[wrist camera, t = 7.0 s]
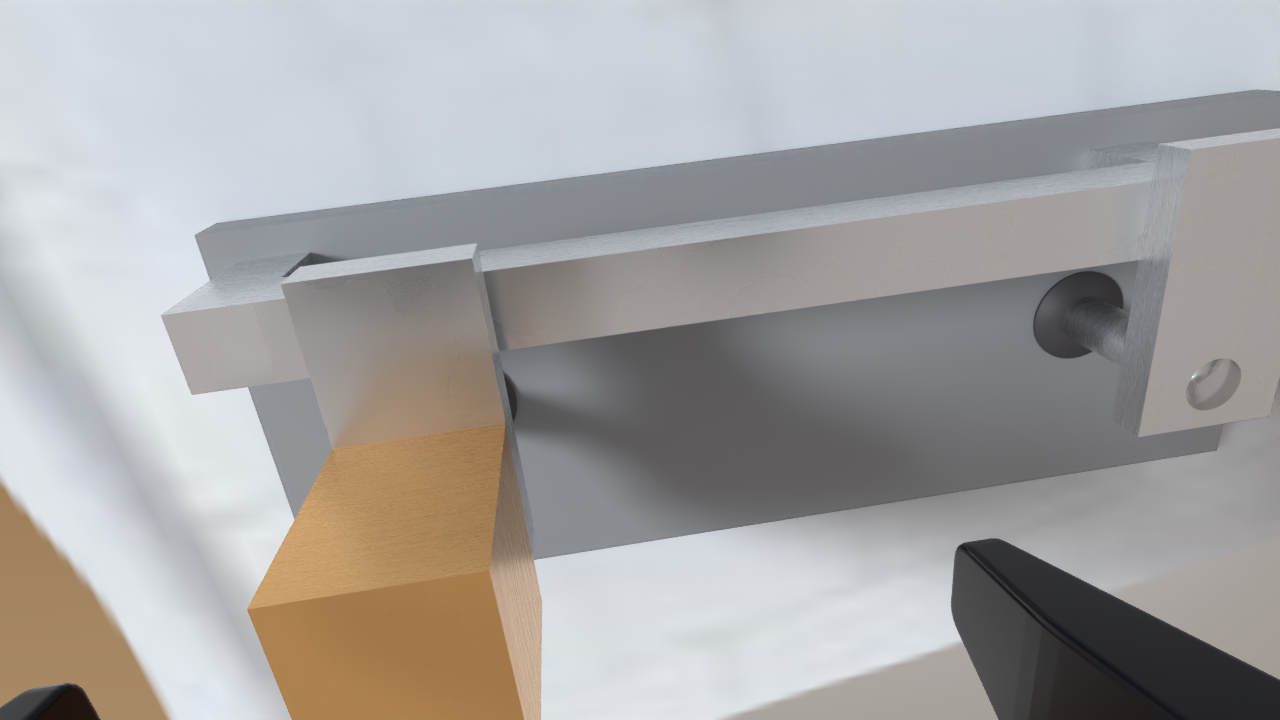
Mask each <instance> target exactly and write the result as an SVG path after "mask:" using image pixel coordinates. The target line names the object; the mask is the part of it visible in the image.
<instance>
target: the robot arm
mask: <svg viewBox="0 0 1280 720" xmlns="http://www.w3.org/2000/svg"><path fill="white" fill-rule="evenodd" d="M951 609H952V615H953V619H954V623H955V626H956V628H957V630H958V633H959V635H960V637H961V639H962V641H963V643H964V646H965V648H966V650H967V652H968V654H969V656H970V659H971V661H972V663H973V665H974V667H975V669H976V671H977V674H978V676H979V678H980V680H981V682H982V685H983V687H984V689H985V691H986V693H987V695H988V697H989V700H990V702H991V704H992V706H993V708H994V711H995V712H996V715H997V717H998V719H999V720H1280V680H1279V679H1277V678H1275V677H1273V676H1271V675H1269V674H1267V673H1265V672H1263V671H1261V670H1259V669H1257V668H1255V667H1253V666H1251V665H1249V664H1247V663H1245V662H1243V661H1241V660H1239V659H1237V658H1235V657H1234V656H1232V655H1230V654H1228V653H1226V652H1224V651H1221V650H1220V649H1217V648H1216V647H1214V646H1212V645H1210V644H1208V643H1206V642H1204V641H1202V640H1200V639H1198V638H1196V637H1194V636H1192V635H1190V634H1188V633H1186V632H1184V631H1182V630H1180V629H1178V628H1176V627H1174V626H1172V625H1170V624H1168V623H1166V622H1164V621H1162V620H1160V619H1158V618H1156V617H1154V616H1152V615H1150V614H1148V613H1146V612H1144V611H1142V610H1140V609H1138V608H1136V607H1134V606H1132V605H1130V604H1128V603H1126V602H1124V601H1122V600H1120V599H1118V598H1116V597H1114V596H1112V595H1110V594H1108V593H1106V592H1105V591H1103V590H1101V589H1099V588H1097V587H1095V586H1093V585H1091V584H1089V583H1087V582H1085V581H1083V580H1081V579H1079V578H1077V577H1075V576H1073V575H1071V574H1069V573H1067V572H1065V571H1063V570H1061V569H1059V568H1057V567H1055V566H1053V565H1051V564H1049V563H1047V562H1045V561H1043V560H1041V559H1039V558H1037V557H1035V556H1033V555H1031V554H1029V553H1027V552H1025V551H1023V550H1021V549H1019V548H1017V547H1015V546H1013V545H1011V544H1009V543H1007V542H1005V541H1003V540H1000V539H985V540H978V541H972V542H966V543H963V544H961V545H960V546H959V547H958V548H957V550H956V553H955V559H954V571H953V584H952V597H951ZM0 720H101V719H100V717H99V715H98V714H97V712H96V710H95V708H94V707H93V705H92V703H91V702H90V700H89V698H88V696H87V695H86V693H85V691H84V690H83V689H82V688H81V687H79V686H78V685H76V684H72V683H63V684H57V685H50V686H44V687H38V688H33V689H30V690H27V691H25V692H23V693H21V694H20V695H18V696H17V697H15V698H14V699H12V700H11V701H9V702H8V703H6V704H5V705H4V706H2V707H1V708H0Z"/></svg>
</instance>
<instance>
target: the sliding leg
mask: <svg viewBox="0 0 1280 720" xmlns="http://www.w3.org/2000/svg"><path fill="white" fill-rule="evenodd" d="M281 287H282V290H283V293H284V297H285V300H286V303H287V306H288V309H289V313H290V316H291V319H292V322H293V325H294V329H295V332H296V335H297V338H298V341H299V344H300V348H301V351H302V354H303V357H304V360H305V364H306V367H307V370H308V373H309V376H310V379H311V383H312V386H313V389H314V392H315V395H316V399H317V402H318V405H319V408H320V411H321V414H322V418H323V421H324V424H325V427H326V430H327V434H328V437H329V440H330V443H331V446H332V451H331V453H330V454H329V456H328V458H327V460H326V462H325V464H324V466H323V468H322V470H321V471H320V473H319V475H318V477H317V479H316V481H315V483H314V485H313V486H312V488H311V490H310V492H309V494H308V496H307V498H306V500H305V501H304V503H303V505H302V507H301V509H300V511H299V513H298V515H297V516H296V518H295V520H294V522H293V524H292V526H291V528H290V530H289V532H288V533H287V535H286V537H285V539H284V541H283V543H282V545H281V547H280V548H279V550H278V552H277V554H276V556H275V558H274V560H273V562H272V563H271V565H270V567H269V569H268V571H267V573H266V575H265V577H264V579H263V580H262V582H261V584H260V586H259V588H258V590H257V592H256V594H255V595H254V597H253V599H252V601H251V603H250V605H249V607H248V609H247V610H248V613H249V615H250V618H251V620H252V623H253V625H254V628H255V630H256V633H257V635H258V637H259V640H260V642H261V645H262V647H263V650H264V652H265V655H266V657H267V660H268V662H269V664H270V667H271V669H272V672H273V674H274V677H275V679H276V682H277V684H278V687H279V689H280V691H281V694H282V696H283V699H284V701H285V704H286V706H287V709H288V711H289V714H290V716H291V718H292V720H541V640H542V600H541V595H540V590H539V585H538V580H537V575H536V570H535V565H534V525H533V520H532V515H531V510H530V505H529V500H528V495H527V490H526V485H525V480H524V475H523V470H522V465H521V460H520V455H519V450H518V445H517V440H516V435H515V430H514V425H513V420H512V415H511V410H510V404H509V399H508V394H507V389H506V384H505V379H504V374H503V369H502V364H501V359H500V354H499V349H498V344H497V339H496V334H495V329H494V324H493V319H492V314H491V309H490V304H489V299H488V294H487V289H486V284H485V279H484V274H483V269H482V264H481V259H480V254H479V249H478V244H477V243H475V244H467V245H460V246H452V247H444V248H437V249H429V250H422V251H414V252H407V253H399V254H392V255H384V256H377V257H369V258H362V259H354V260H347V261H339V262H332V263H324V264H317V265H309V266H302V267H299V268H298V269H297V270H296V271H295V272H293V273H292V274H291V275H290V276H289V277H288V278H287V279H286V280H285V281H283V282H282V283H281Z"/></svg>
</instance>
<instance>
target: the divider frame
mask: <svg viewBox="0 0 1280 720" xmlns="http://www.w3.org/2000/svg"><path fill="white" fill-rule="evenodd" d="M479 254H480V259H481V264H482V269H483V274H484V279H485V284H486V289H487V294H488V299H489V304H490V309H491V314H492V319H493V324H494V329H495V334H496V339H497V344H498V349H499V351H504V350H511V349H518V348H525V347H532V346H539V345H546V344H553V343H560V342H567V341H574V340H581V339H588V338H595V337H602V336H609V335H616V334H623V333H630V332H637V331H644V330H651V329H658V328H665V327H672V326H679V325H686V324H693V323H701V322H708V321H715V320H722V319H729V318H736V317H743V316H750V315H757V314H764V313H771V312H778V311H785V310H792V309H799V308H806V307H813V306H820V305H827V304H834V303H841V302H848V301H855V300H862V299H869V298H876V297H883V296H890V295H897V294H904V293H911V292H918V291H925V290H932V289H939V288H947V287H954V286H961V285H968V284H975V283H982V282H989V281H996V280H1003V279H1010V278H1017V277H1024V276H1031V275H1038V274H1045V273H1052V272H1059V271H1066V270H1073V269H1080V268H1087V267H1094V266H1101V265H1108V264H1115V263H1122V262H1129V261H1136V260H1139V262H1138V268H1137V274H1136V280H1135V286H1134V292H1133V298H1132V304H1131V310H1130V313H1128V312H1126V311H1124V310H1122V309H1120V308H1117V307H1115V306H1113V305H1111V304H1109V303H1107V302H1104V301H1102V300H1100V299H1098V298H1095V297H1086V298H1083V299H1080V300H1078V301H1076V302H1075V303H1074V304H1072V305H1071V306H1070V307H1069V309H1068V310H1067V311H1066V313H1065V315H1064V318H1063V321H1062V328H1063V332H1064V334H1065V335H1066V336H1067V337H1068V338H1070V339H1071V340H1073V341H1075V342H1077V343H1079V344H1080V345H1082V346H1084V347H1086V348H1088V349H1089V350H1091V351H1093V352H1095V353H1096V354H1098V355H1100V356H1102V357H1104V358H1105V359H1107V360H1109V361H1111V362H1112V363H1114V364H1116V365H1118V366H1120V367H1121V370H1120V376H1119V382H1118V388H1117V394H1116V400H1115V406H1114V412H1113V418H1112V420H1113V421H1115V422H1116V423H1118V424H1119V425H1121V426H1122V427H1124V428H1125V429H1127V430H1128V431H1130V432H1131V433H1133V434H1134V435H1136V436H1137V437H1142V436H1149V435H1155V434H1161V433H1167V432H1174V431H1180V430H1186V429H1193V428H1199V427H1205V426H1212V425H1218V424H1224V423H1231V422H1237V421H1243V420H1250V419H1256V418H1262V417H1269V416H1270V413H1271V409H1272V405H1273V401H1274V397H1275V393H1276V390H1277V386H1278V382H1279V378H1280V128H1277V129H1269V130H1262V131H1254V132H1247V133H1239V134H1231V135H1224V136H1216V137H1209V138H1201V139H1194V140H1186V141H1178V142H1171V143H1158V142H1151V141H1150V142H1142V143H1135V144H1127V145H1119V146H1112V147H1104V148H1097V149H1089V150H1088V151H1087V159H1086V167H1085V170H1082V171H1075V172H1067V173H1060V174H1052V175H1045V176H1037V177H1030V178H1022V179H1015V180H1008V181H1000V182H993V183H985V184H978V185H970V186H963V187H955V188H948V189H940V190H933V191H925V192H918V193H910V194H903V195H895V196H888V197H880V198H873V199H865V200H858V201H850V202H843V203H835V204H828V205H820V206H813V207H805V208H798V209H790V210H783V211H775V212H768V213H760V214H753V215H746V216H738V217H731V218H723V219H716V220H708V221H701V222H693V223H686V224H678V225H671V226H663V227H656V228H648V229H641V230H633V231H626V232H618V233H611V234H603V235H596V236H588V237H581V238H573V239H566V240H558V241H551V242H543V243H536V244H528V245H521V246H513V247H506V248H499V249H491V250H484V251H479ZM309 265H314V264H313V260H312V257H311V253H310V252H308V253H300V254H292V255H285V256H277V257H270V258H262V259H254V260H247V261H239V262H236V263H235V264H233V265H232V266H231V267H229V268H228V269H226V270H225V271H223V272H222V273H221V274H219V275H218V276H216V277H215V278H213V279H212V280H211V281H209V282H208V283H206V284H205V285H203V286H202V287H201V288H199V289H198V290H196V291H195V292H193V293H192V294H191V295H189V296H188V297H186V298H185V299H183V300H182V301H180V302H179V303H178V304H176V305H175V306H173V307H172V308H170V309H169V310H168V311H166V312H165V313H163V314H162V315H161V317H162V319H163V322H164V324H165V327H166V330H167V332H168V335H169V337H170V340H171V343H172V345H173V348H174V350H175V353H176V355H177V358H178V361H179V363H180V366H181V368H182V371H183V373H184V376H185V379H186V381H187V384H188V386H189V389H190V391H191V394H192V395H194V394H201V393H208V392H216V391H223V390H230V389H237V388H244V387H251V386H258V385H265V384H272V383H279V382H286V381H293V380H300V379H307V378H310V376H309V373H308V370H307V367H306V364H305V360H304V357H303V354H302V351H301V348H300V344H299V341H298V338H297V335H296V332H295V329H294V325H293V322H292V319H291V316H290V313H289V309H288V306H287V303H286V300H285V297H284V293H283V290H282V287H281V283H282V282H283V281H285V280H286V279H287V278H288V277H289V276H290V275H291V274H292V273H293V272H295V271H296V270H297V269H298V268H299V267H302V266H309Z"/></svg>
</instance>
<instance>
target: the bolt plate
mask: <svg viewBox="0 0 1280 720" xmlns="http://www.w3.org/2000/svg"><path fill="white" fill-rule="evenodd" d="M1277 128H1280V91H1270V90H1251V91H1243V92H1235V93H1227V94H1220V95H1212V96H1204V97H1196V98H1189V99H1181V100H1173V101H1165V102H1157V103H1150V104H1142V105H1134V106H1126V107H1118V108H1111V109H1103V110H1095V111H1087V112H1080V113H1072V114H1064V115H1056V116H1048V117H1041V118H1033V119H1025V120H1017V121H1009V122H1002V123H994V124H986V125H978V126H970V127H963V128H955V129H947V130H939V131H932V132H924V133H916V134H908V135H900V136H893V137H885V138H877V139H869V140H861V141H854V142H846V143H838V144H830V145H823V146H815V147H807V148H799V149H791V150H784V151H776V152H768V153H760V154H752V155H745V156H737V157H729V158H721V159H714V160H706V161H698V162H690V163H682V164H675V165H667V166H659V167H651V168H643V169H636V170H628V171H620V172H612V173H604V174H597V175H589V176H581V177H573V178H566V179H558V180H550V181H542V182H534V183H527V184H519V185H511V186H503V187H495V188H488V189H480V190H472V191H464V192H457V193H449V194H441V195H433V196H425V197H418V198H410V199H402V200H394V201H386V202H379V203H371V204H363V205H355V206H347V207H340V208H332V209H324V210H316V211H309V212H301V213H293V214H285V215H277V216H270V217H262V218H254V219H246V220H238V221H231V222H223V223H216V224H214V225H213V226H211V227H209V228H207V229H205V230H203V231H201V232H200V233H198V234H196V235H195V238H196V241H197V244H198V247H199V250H200V252H201V255H202V258H203V261H204V264H205V267H206V269H207V272H208V275H209V278H210V281H211V280H212V279H213V278H215V277H216V276H218V275H219V274H221V273H222V272H223V271H225V270H226V269H228V268H229V267H231V266H232V265H233V264H235V263H236V262H239V261H247V260H254V259H262V258H270V257H277V256H285V255H292V254H300V253H308V252H310V253H311V257H312V260H313V264H314V265H317V264H324V263H332V262H339V261H347V260H354V259H362V258H369V257H377V256H384V255H392V254H399V253H407V252H414V251H422V250H429V249H437V248H444V247H452V246H460V245H467V244H475V243H477V244H478V249H479V251H484V250H491V249H499V248H506V247H513V246H521V245H528V244H536V243H543V242H551V241H558V240H566V239H573V238H581V237H588V236H596V235H603V234H611V233H618V232H626V231H633V230H641V229H648V228H656V227H663V226H671V225H678V224H686V223H693V222H701V221H708V220H716V219H723V218H731V217H738V216H746V215H753V214H760V213H768V212H775V211H783V210H790V209H798V208H805V207H813V206H820V205H828V204H835V203H843V202H850V201H858V200H865V199H873V198H880V197H888V196H895V195H903V194H910V193H918V192H925V191H933V190H940V189H948V188H955V187H963V186H970V185H978V184H985V183H993V182H1000V181H1008V180H1015V179H1022V178H1030V177H1037V176H1045V175H1052V174H1060V173H1067V172H1075V171H1082V170H1085V167H1086V159H1087V151H1088V150H1089V149H1097V148H1104V147H1112V146H1119V145H1127V144H1135V143H1142V142H1150V141H1151V142H1158V143H1171V142H1178V141H1186V140H1194V139H1201V138H1209V137H1216V136H1224V135H1231V134H1239V133H1247V132H1254V131H1262V130H1269V129H1277ZM1138 262H1139V260H1136V261H1129V262H1122V263H1115V264H1108V265H1101V266H1094V267H1087V268H1080V269H1073V270H1066V271H1059V272H1052V273H1045V274H1038V275H1031V276H1024V277H1017V278H1010V279H1003V280H996V281H989V282H982V283H975V284H968V285H961V286H954V287H947V288H939V289H932V290H925V291H918V292H911V293H904V294H897V295H890V296H883V297H876V298H869V299H862V300H855V301H848V302H841V303H834V304H827V305H820V306H813V307H806V308H799V309H792V310H785V311H778V312H771V313H764V314H757V315H750V316H743V317H736V318H729V319H722V320H715V321H708V322H701V323H693V324H686V325H679V326H672V327H665V328H658V329H651V330H644V331H637V332H630V333H623V334H616V335H609V336H602V337H595V338H588V339H581V340H574V341H567V342H560V343H553V344H546V345H539V346H532V347H525V348H518V349H511V350H504V351H499V354H500V359H501V364H502V369H503V374H504V379H505V384H506V389H507V394H508V399H509V404H510V410H511V415H512V420H513V425H514V430H515V435H516V440H517V445H518V450H519V455H520V460H521V465H522V470H523V475H524V480H525V485H526V490H527V495H528V500H529V505H530V510H531V515H532V520H533V525H534V560H536V559H542V558H548V557H555V556H561V555H567V554H573V553H579V552H586V551H592V550H598V549H604V548H611V547H617V546H623V545H629V544H636V543H642V542H648V541H654V540H661V539H667V538H673V537H679V536H685V535H692V534H698V533H704V532H710V531H717V530H723V529H729V528H735V527H742V526H748V525H754V524H760V523H767V522H773V521H779V520H785V519H791V518H798V517H804V516H810V515H816V514H823V513H829V512H835V511H841V510H848V509H854V508H860V507H866V506H873V505H879V504H885V503H891V502H897V501H904V500H910V499H916V498H922V497H929V496H935V495H941V494H947V493H954V492H960V491H966V490H972V489H979V488H985V487H991V486H997V485H1003V484H1010V483H1016V482H1022V481H1028V480H1035V479H1041V478H1047V477H1053V476H1060V475H1066V474H1072V473H1078V472H1085V471H1091V470H1097V469H1103V468H1109V467H1116V466H1122V465H1128V464H1134V463H1141V462H1147V461H1153V460H1159V459H1166V458H1172V457H1178V456H1184V455H1191V454H1197V453H1203V452H1209V451H1216V450H1217V447H1218V442H1219V438H1220V434H1221V429H1222V425H1223V424H1218V425H1212V426H1205V427H1199V428H1193V429H1186V430H1180V431H1174V432H1167V433H1161V434H1155V435H1149V436H1142V437H1137V436H1136V435H1134V434H1133V433H1131V432H1130V431H1128V430H1127V429H1125V428H1124V427H1122V426H1121V425H1119V424H1118V423H1116V422H1115V421H1113V420H1112V418H1113V412H1114V406H1115V400H1116V394H1117V388H1118V382H1119V376H1120V370H1121V367H1120V366H1118V365H1116V364H1114V363H1112V362H1111V361H1109V360H1107V359H1105V358H1104V357H1102V356H1100V355H1098V354H1096V353H1095V352H1093V351H1091V350H1089V349H1088V348H1086V347H1084V346H1082V345H1080V344H1079V343H1077V342H1075V341H1073V340H1071V339H1070V338H1068V337H1067V336H1066V335H1065V334H1064V332H1063V328H1062V321H1063V318H1064V315H1065V313H1066V311H1067V310H1068V309H1069V307H1070V306H1071V305H1072V304H1074V303H1075V302H1076V301H1078V300H1080V299H1083V298H1086V297H1095V298H1098V299H1100V300H1102V301H1104V302H1107V303H1109V304H1111V305H1113V306H1115V307H1117V308H1120V309H1122V310H1124V311H1126V312H1128V313H1130V310H1131V304H1132V298H1133V292H1134V286H1135V280H1136V274H1137V268H1138ZM248 388H249V391H250V394H251V397H252V400H253V403H254V405H255V408H256V411H257V414H258V417H259V420H260V422H261V425H262V428H263V431H264V434H265V437H266V439H267V442H268V445H269V448H270V451H271V454H272V456H273V459H274V462H275V465H276V468H277V471H278V473H279V476H280V479H281V482H282V485H283V488H284V490H285V493H286V496H287V499H288V502H289V505H290V507H291V510H292V513H293V516H294V519H295V518H296V516H297V515H298V513H299V511H300V509H301V507H302V505H303V503H304V501H305V500H306V498H307V496H308V494H309V492H310V490H311V488H312V486H313V485H314V483H315V481H316V479H317V477H318V475H319V473H320V471H321V470H322V468H323V466H324V464H325V462H326V460H327V458H328V456H329V454H330V453H331V451H332V446H331V443H330V440H329V437H328V434H327V430H326V427H325V424H324V421H323V418H322V414H321V411H320V408H319V405H318V402H317V399H316V395H315V392H314V389H313V386H312V383H311V379H310V378H307V379H300V380H293V381H286V382H279V383H272V384H265V385H258V386H251V387H248Z"/></svg>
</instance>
